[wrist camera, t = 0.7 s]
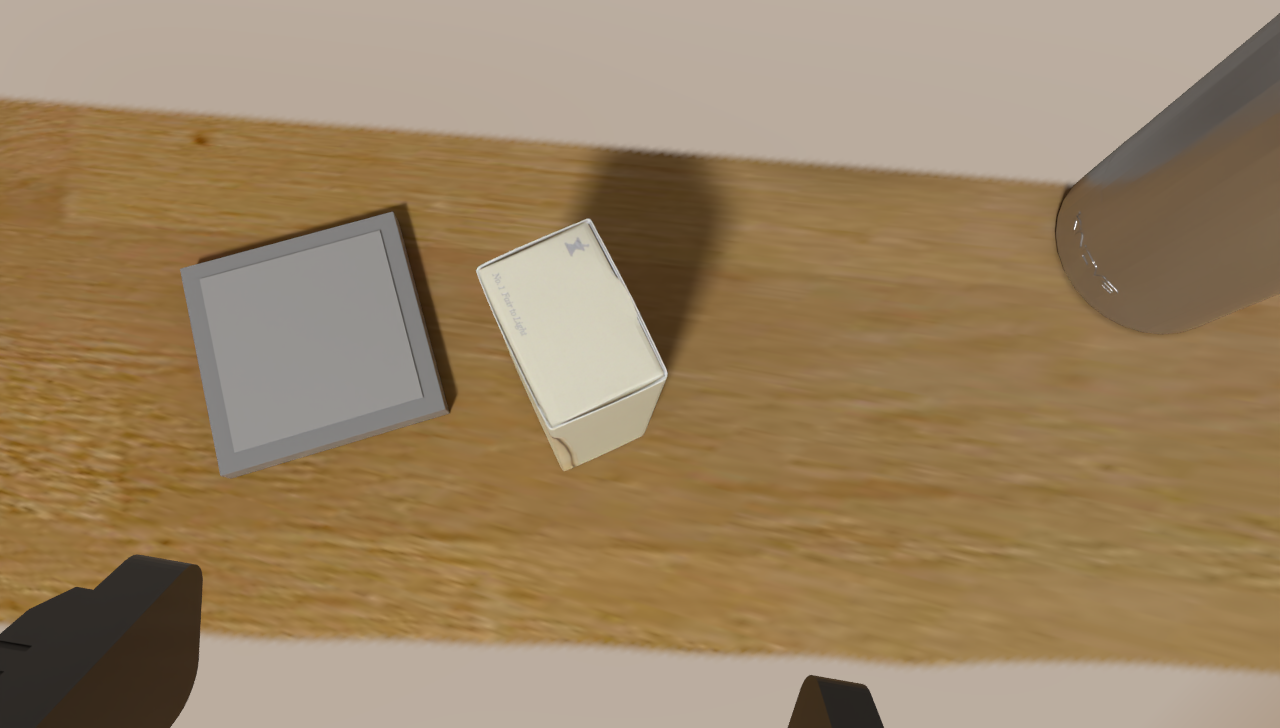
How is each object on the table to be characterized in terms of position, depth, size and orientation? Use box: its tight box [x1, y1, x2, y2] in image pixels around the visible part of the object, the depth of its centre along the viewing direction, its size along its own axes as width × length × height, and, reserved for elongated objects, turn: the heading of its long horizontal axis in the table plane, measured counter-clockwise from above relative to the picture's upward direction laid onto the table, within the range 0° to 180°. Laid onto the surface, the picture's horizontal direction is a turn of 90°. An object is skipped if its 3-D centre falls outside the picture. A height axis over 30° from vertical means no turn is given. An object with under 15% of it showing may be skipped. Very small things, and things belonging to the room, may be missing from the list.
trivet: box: [180, 212, 449, 478], centre depth 38 cm, size 10×10×1 cm
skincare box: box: [476, 218, 668, 471], centre depth 32 cm, size 6×4×12 cm
